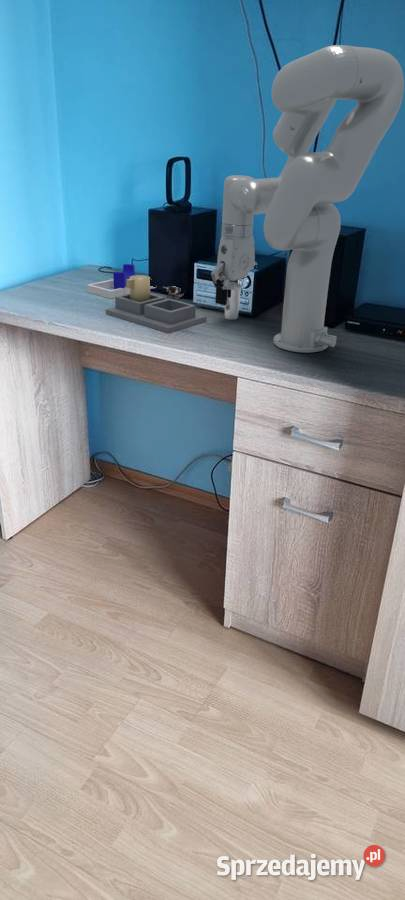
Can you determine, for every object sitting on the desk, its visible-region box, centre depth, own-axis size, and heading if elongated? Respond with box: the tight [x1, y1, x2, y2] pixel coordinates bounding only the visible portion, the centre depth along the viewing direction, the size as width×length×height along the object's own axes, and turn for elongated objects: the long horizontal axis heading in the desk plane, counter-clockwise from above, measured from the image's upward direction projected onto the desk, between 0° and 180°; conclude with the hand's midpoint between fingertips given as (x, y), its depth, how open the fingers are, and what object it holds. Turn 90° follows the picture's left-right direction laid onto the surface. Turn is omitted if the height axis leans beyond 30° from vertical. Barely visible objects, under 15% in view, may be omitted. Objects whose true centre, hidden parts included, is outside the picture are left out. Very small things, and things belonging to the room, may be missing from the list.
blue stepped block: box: [112, 263, 136, 290], centre depth 191 cm, size 12×4×6 cm, turn 171°
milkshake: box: [224, 281, 244, 321], centre depth 168 cm, size 4×5×10 cm
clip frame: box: [86, 278, 157, 299], centre depth 192 cm, size 10×18×2 cm, turn 140°
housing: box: [105, 274, 207, 334], centre depth 167 cm, size 22×14×9 cm, turn 50°
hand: (232, 300), depth 169 cm, fingers open, 9 cm apart
